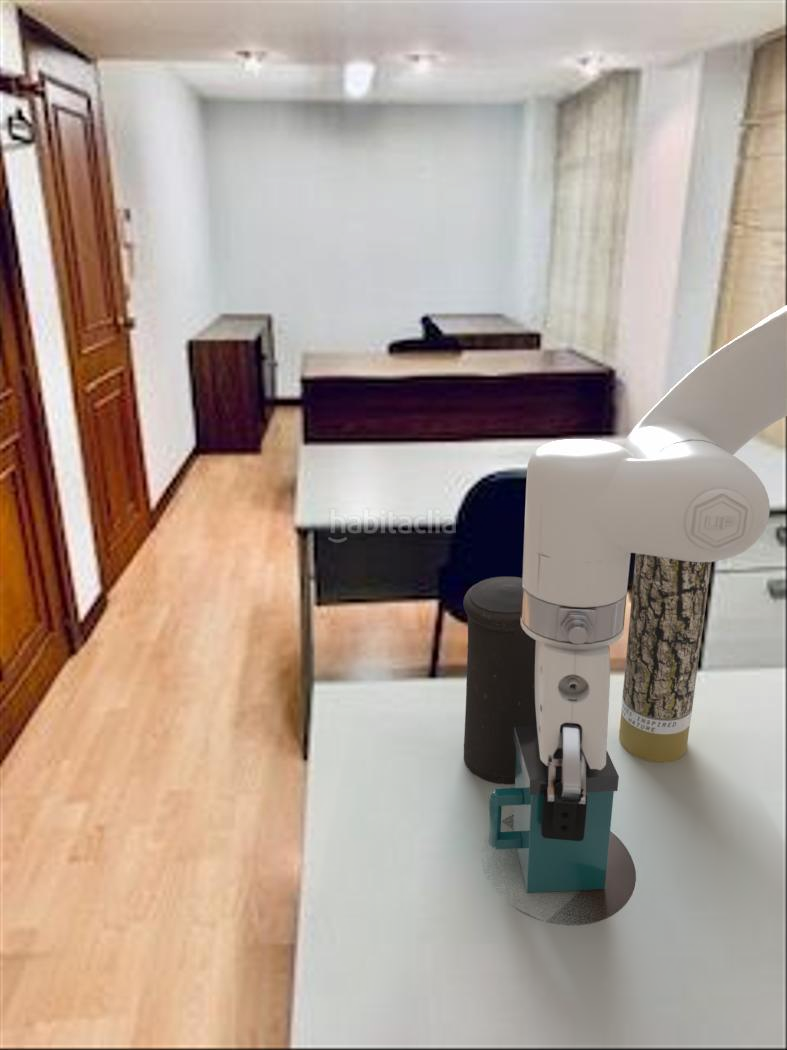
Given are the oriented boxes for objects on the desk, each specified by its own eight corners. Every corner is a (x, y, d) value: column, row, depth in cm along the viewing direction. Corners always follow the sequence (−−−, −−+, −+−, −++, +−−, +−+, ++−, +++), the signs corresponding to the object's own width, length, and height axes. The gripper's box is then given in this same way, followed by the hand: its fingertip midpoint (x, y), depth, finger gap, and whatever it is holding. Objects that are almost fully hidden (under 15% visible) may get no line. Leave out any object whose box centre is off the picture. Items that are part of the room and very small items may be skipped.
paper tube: (691, 772, 76) (723, 541, 67) (621, 765, 77) (643, 537, 69) (680, 731, 82) (707, 515, 74) (615, 726, 84) (634, 512, 75)
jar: (586, 830, 68) (594, 723, 64) (608, 891, 62) (619, 776, 58) (482, 835, 68) (484, 727, 64) (494, 896, 61) (497, 781, 57)
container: (565, 778, 76) (577, 598, 69) (485, 803, 73) (489, 617, 66) (521, 730, 83) (527, 563, 76) (447, 751, 80) (446, 579, 73)
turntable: (618, 817, 71) (619, 810, 70) (652, 937, 58) (653, 929, 58) (478, 813, 72) (478, 806, 71) (482, 930, 59) (483, 922, 59)
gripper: (643, 673, 48) (619, 889, 54) (610, 563, 64) (595, 739, 70) (522, 666, 49) (512, 878, 55) (520, 560, 65) (513, 733, 71)
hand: (559, 799), depth 62 cm, fingers closed on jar, 7 cm apart
